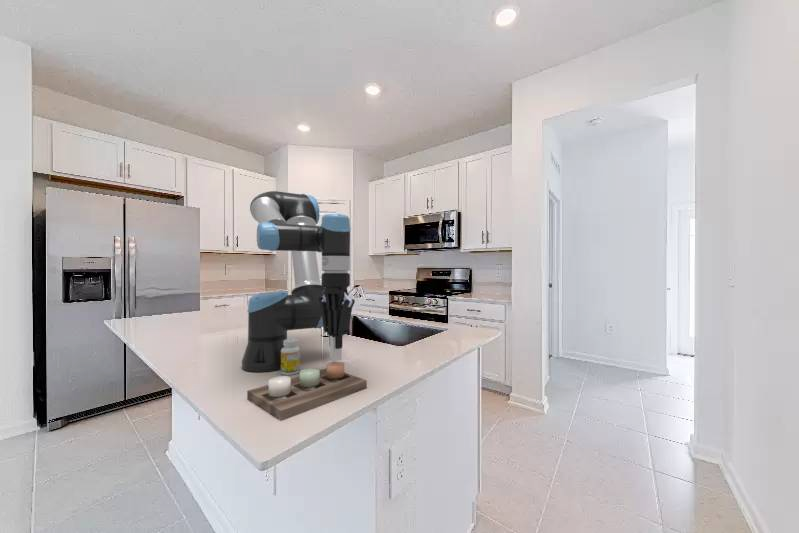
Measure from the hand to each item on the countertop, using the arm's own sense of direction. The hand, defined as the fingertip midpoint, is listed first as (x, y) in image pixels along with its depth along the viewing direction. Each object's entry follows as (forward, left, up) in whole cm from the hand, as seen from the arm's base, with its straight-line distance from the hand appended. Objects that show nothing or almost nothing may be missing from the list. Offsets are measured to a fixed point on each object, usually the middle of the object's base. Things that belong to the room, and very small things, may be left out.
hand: (335, 359), depth 87 cm
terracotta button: (0, 0, -4) cm, 4 cm away
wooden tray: (0, -8, -7) cm, 10 cm away
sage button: (0, -8, -4) cm, 9 cm away
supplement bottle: (-18, -3, -7) cm, 20 cm away
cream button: (0, -16, -4) cm, 16 cm away
